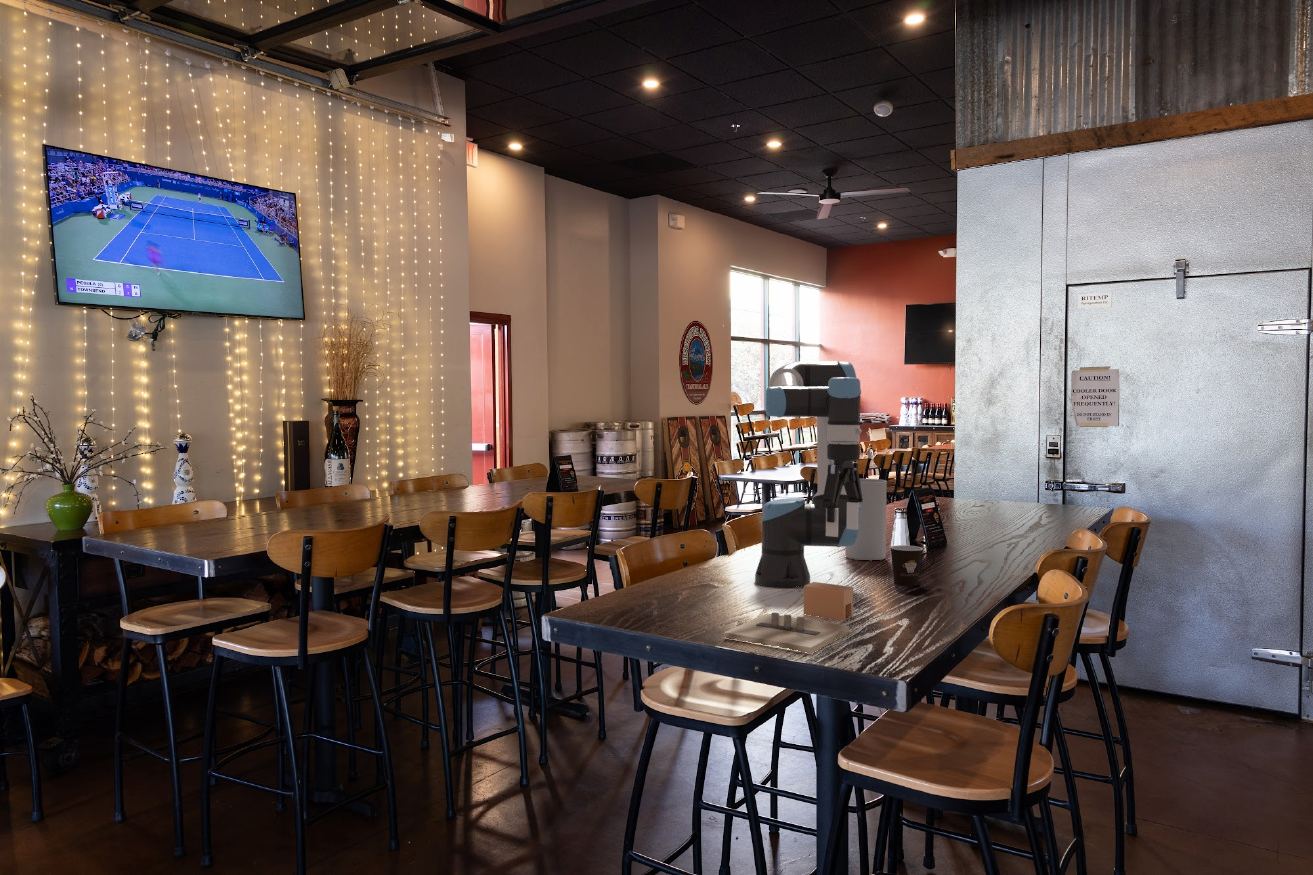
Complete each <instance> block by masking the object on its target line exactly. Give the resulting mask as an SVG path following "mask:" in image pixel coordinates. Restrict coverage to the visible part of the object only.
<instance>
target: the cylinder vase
mask: <svg viewBox="0 0 1313 875" xmlns="http://www.w3.org/2000/svg"><path fill="white" fill-rule="evenodd" d="M859 479H860V486H861V492H862V498H863V501H862V502H858V503H859V505H860V506H861V510H860V511H861V513H860V523H859V530H858V536H857V540H856V543H855V544H854V545H853V546H847V547H845V552H844V553H845V557H846V558H847V559H849V560H852V559H854V560H853V561H858V560H870V561H869V562H873V561H872V560H880V561H883V560H884V559H885V558H886V555H887V554H886V551H887V550H886V548H887V547H886V546H887V545H886V544H887V543H886V539H887V538H886V536H887V535H886V534H887V533H886V532H887V488H888V487H887V480H886V479H885V480H884V479H877V478H876V479H875V478H859Z"/></svg>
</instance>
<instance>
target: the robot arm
mask: <svg viewBox="0 0 1313 875" xmlns="http://www.w3.org/2000/svg"><path fill="white" fill-rule="evenodd" d="M853 365H854V364H852V363H851V362H849V361H838V360H834V361H797V362H792V363H788V364H785V365H782V366H781V367H779V368H777V369H776V370H775V371H774V372H773V373H772V374H771V376H770V378H769V385H768V387H767V388H766V389H765V413H766V416H768V417H772V418H773V417H775V418H792V417H793V418H796V417H797V418H799V417H801V418H804V417H805V418H806V417H807V418H816V449H817V450H816V452H817V453H816V454H817V457H816V458H817V460H816V461H817V462H816V463H817V466H816V467H817V469H816V470H817V471H816V472H817V492H816V493H815V494H814V495H813V496H812V498H811V499H812V500H811V503H806V500H805V498H802V497H788V498H780V499H775V500H774V499H773V500H770V501H768V502H765V503H764V505H762V509H761V510H762V515H761V519H760V521H761V522H762V523H761V555H760V559H759V562H758V565H757V568H756V570H755V574H754V583H755V584H757V585H760V586H762V587H767V588H776V589H778V588H779V589H796V588H797V589H798V588H804V586H805V585H807V584H810V583H811V574H810V572H809V571H810V570H809V567H808V564H807V562H806V558H805V546H806V547H833V548H834V547H837V548H840V547H841V548H843V547H845V548H846V547H847V546H853V545H854V544H855V543H856V540H857V536H858V530H859V523H860V513H861V511H860V510H861V506H860V505H859V503H858V502H862V501H863V498H862V492H861V486H860V479H861V478H860V475H859V463H858V461H857V460H860V454H861V447H860V446H861V445H860V444H859V443H858V442H860V441H861V440H860V439H861V438H860V437H861V433H862V432H863V430H862V429H861V394H862V389H861V380H860V379H859V378H857V373H856V370H855V366H853ZM856 461H857V462H856Z"/></svg>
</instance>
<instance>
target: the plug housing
mask: <svg viewBox="0 0 1313 875" xmlns="http://www.w3.org/2000/svg"><path fill="white" fill-rule="evenodd" d="M804 614H806V615H805V616H807V615H811V616H810V617H813V616H819V617H818V618H820V617H823V618H822V619H826V618H831V619H830V620H833V619H836V620H835V621H839V620H843V621H842V622H845V621H846V617H847V616H852V617H853V616H854V586H849V585H841V584H833V583H826V582H820V581H819V582H817V581H812V582H810V584H807V585H805V586H804V587H803V615H804ZM844 620H845V621H844Z"/></svg>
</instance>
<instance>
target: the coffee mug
mask: <svg viewBox="0 0 1313 875" xmlns="http://www.w3.org/2000/svg"><path fill="white" fill-rule="evenodd" d="M889 549H890V556H891V558H890V559H891V567H892V578H893V584H894V585H896V586H901V587H916V586H918V585H919V579H920V575H921V574H922V573H924V572H925V571H927V570H929V568H931V566H932V565H933V564H934V563H935V561H936V558H935V555H934V554H933V553H932V552H929V551H926V552H923V549H924V548H922V547H920V546H915V545H908V544H907V545H903V544H900V545H898V544H897V545H891V546H890V548H889ZM926 555H930V556H931V557H932V561H931V562H930V564H928V565H927V566H926V567H924V568H923V569H922V570H921V566H922V565H921V564H922V559H923V558H924V557H925V556H926Z"/></svg>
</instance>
